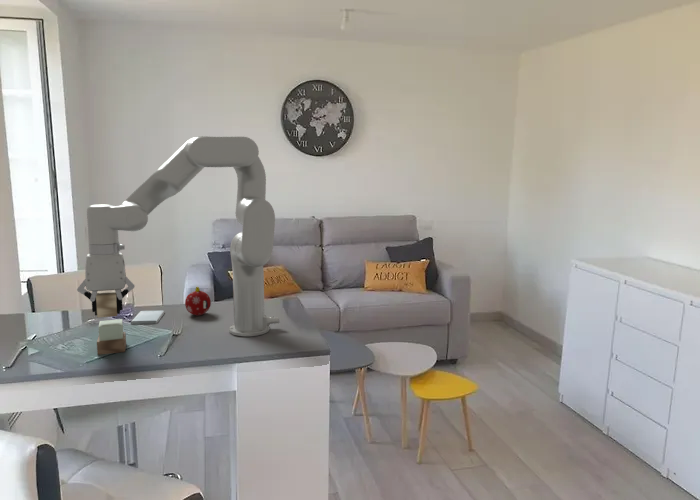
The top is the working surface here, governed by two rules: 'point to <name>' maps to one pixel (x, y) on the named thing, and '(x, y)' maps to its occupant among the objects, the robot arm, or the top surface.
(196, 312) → the christmas ornament
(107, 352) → the tower bottom
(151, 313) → the hard drive
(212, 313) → the top surface
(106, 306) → the oak block
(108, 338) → the tower top
